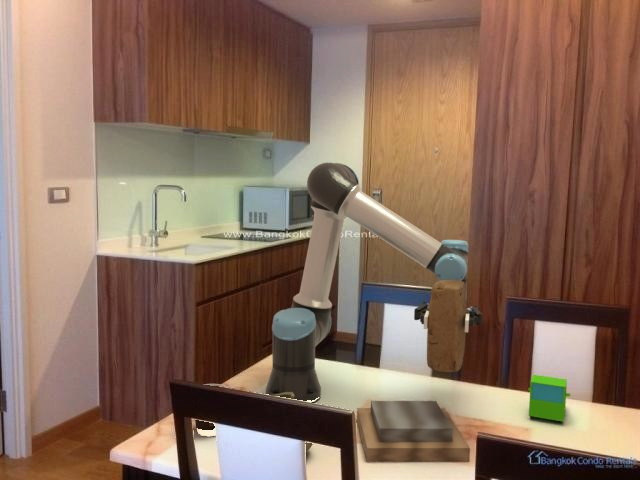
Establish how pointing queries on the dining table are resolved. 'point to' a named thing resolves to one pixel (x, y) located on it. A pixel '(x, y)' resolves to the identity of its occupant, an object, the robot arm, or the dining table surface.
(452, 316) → the block
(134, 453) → the dining table surface
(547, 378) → the toy car
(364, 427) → the tower base
